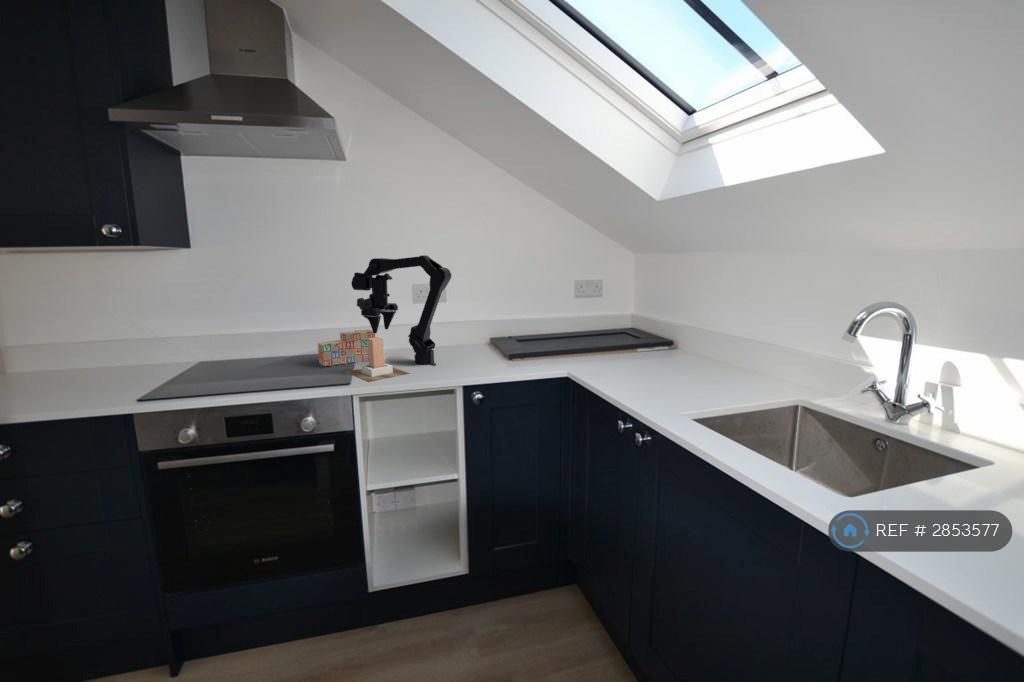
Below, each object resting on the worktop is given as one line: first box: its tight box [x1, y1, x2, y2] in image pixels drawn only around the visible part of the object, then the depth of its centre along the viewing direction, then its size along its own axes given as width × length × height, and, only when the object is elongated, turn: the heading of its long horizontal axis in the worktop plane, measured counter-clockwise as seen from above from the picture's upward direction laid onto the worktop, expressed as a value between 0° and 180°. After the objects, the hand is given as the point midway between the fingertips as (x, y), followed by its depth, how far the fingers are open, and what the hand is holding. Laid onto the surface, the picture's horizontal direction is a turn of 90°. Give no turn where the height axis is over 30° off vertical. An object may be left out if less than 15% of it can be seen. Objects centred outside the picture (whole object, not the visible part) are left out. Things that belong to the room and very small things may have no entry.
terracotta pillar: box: [367, 336, 385, 369], centre depth 169 cm, size 4×4×12 cm
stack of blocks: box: [317, 329, 376, 366], centre depth 191 cm, size 21×6×12 cm, turn 128°
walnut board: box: [345, 366, 411, 383], centre depth 170 cm, size 16×19×1 cm
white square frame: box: [361, 362, 393, 377], centre depth 170 cm, size 8×8×2 cm
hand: (380, 331), depth 185 cm, fingers open, 9 cm apart
